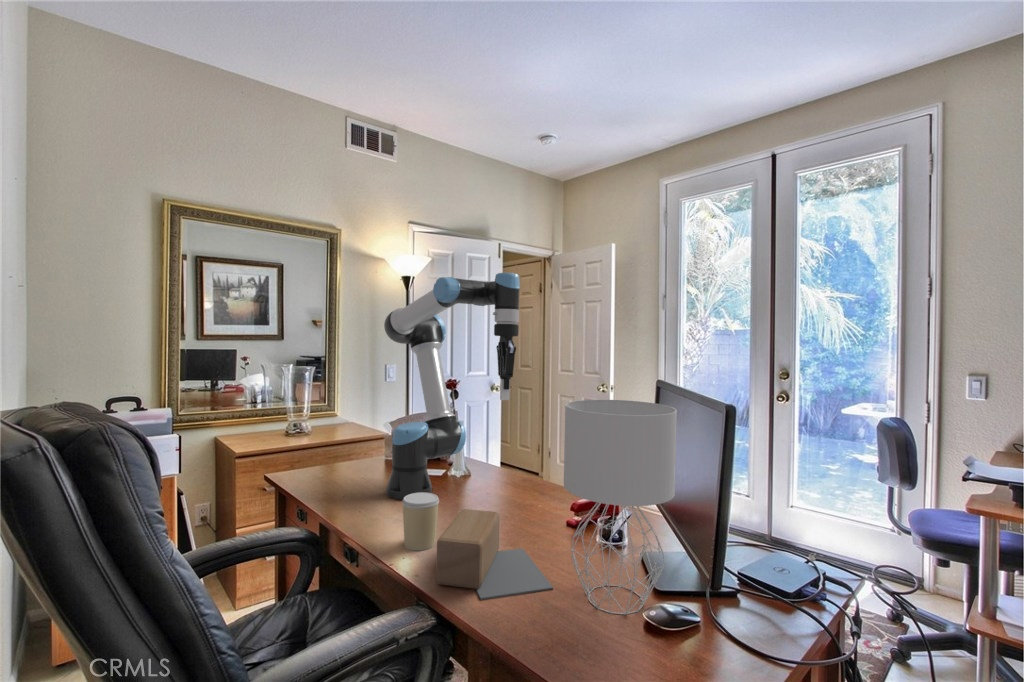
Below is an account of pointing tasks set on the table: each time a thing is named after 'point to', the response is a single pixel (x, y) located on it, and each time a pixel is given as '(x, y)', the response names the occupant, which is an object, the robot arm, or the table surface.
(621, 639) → the table surface
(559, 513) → the table surface
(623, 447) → the table lamp
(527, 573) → the mat
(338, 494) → the table surface
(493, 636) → the table surface
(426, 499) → the coffee cup
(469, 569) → the block
